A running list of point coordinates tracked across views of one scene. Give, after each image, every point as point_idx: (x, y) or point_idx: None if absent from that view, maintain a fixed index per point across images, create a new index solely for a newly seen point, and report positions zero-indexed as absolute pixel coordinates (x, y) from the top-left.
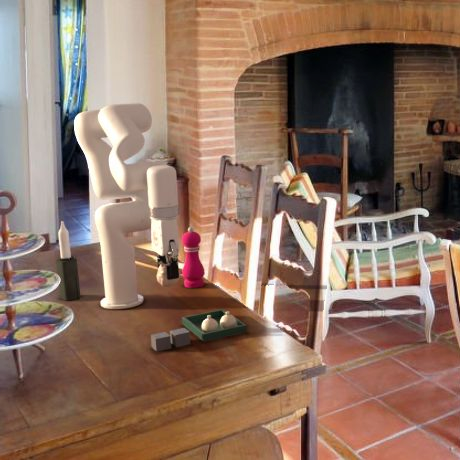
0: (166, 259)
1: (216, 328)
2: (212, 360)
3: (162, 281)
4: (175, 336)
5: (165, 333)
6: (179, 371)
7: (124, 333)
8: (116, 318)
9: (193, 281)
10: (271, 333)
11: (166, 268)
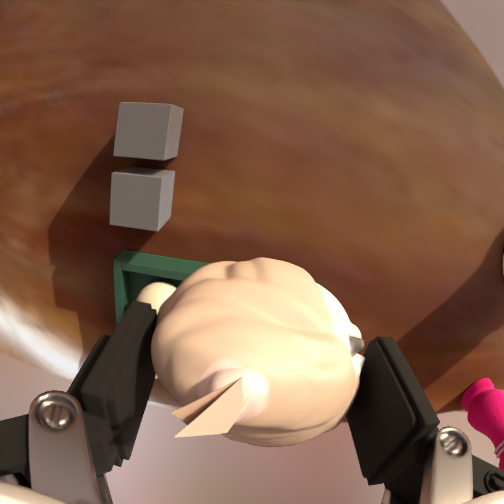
0: (75, 466)
1: None
2: (22, 208)
3: (198, 270)
4: (113, 172)
5: (145, 151)
6: (13, 118)
7: (378, 116)
8: (484, 176)
9: (475, 396)
10: None
11: (100, 368)
